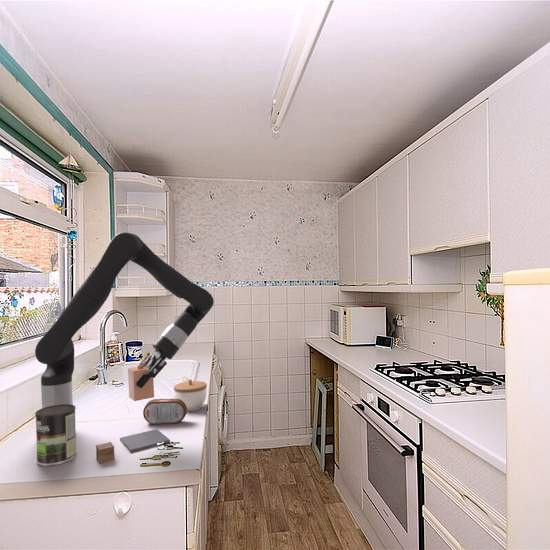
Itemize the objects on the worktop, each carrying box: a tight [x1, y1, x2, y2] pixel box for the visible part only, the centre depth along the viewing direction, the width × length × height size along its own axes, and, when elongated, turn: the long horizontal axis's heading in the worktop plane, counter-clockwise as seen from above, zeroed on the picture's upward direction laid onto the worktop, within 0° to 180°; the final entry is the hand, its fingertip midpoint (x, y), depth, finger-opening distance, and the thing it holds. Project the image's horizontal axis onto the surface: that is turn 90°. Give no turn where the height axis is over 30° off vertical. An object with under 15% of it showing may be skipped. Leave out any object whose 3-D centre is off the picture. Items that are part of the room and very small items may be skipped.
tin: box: [142, 398, 188, 425], centre depth 146 cm, size 15×3×8 cm, turn 92°
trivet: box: [119, 428, 171, 454], centre depth 130 cm, size 12×12×1 cm
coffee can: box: [34, 404, 77, 467], centre depth 120 cm, size 10×10×14 cm
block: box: [95, 441, 115, 465], centre depth 118 cm, size 4×4×4 cm
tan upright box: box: [127, 364, 155, 402], centre depth 129 cm, size 6×6×10 cm
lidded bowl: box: [173, 379, 208, 412], centre depth 162 cm, size 13×13×11 cm
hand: (135, 384), depth 128 cm, fingers closed on tan upright box, 6 cm apart
